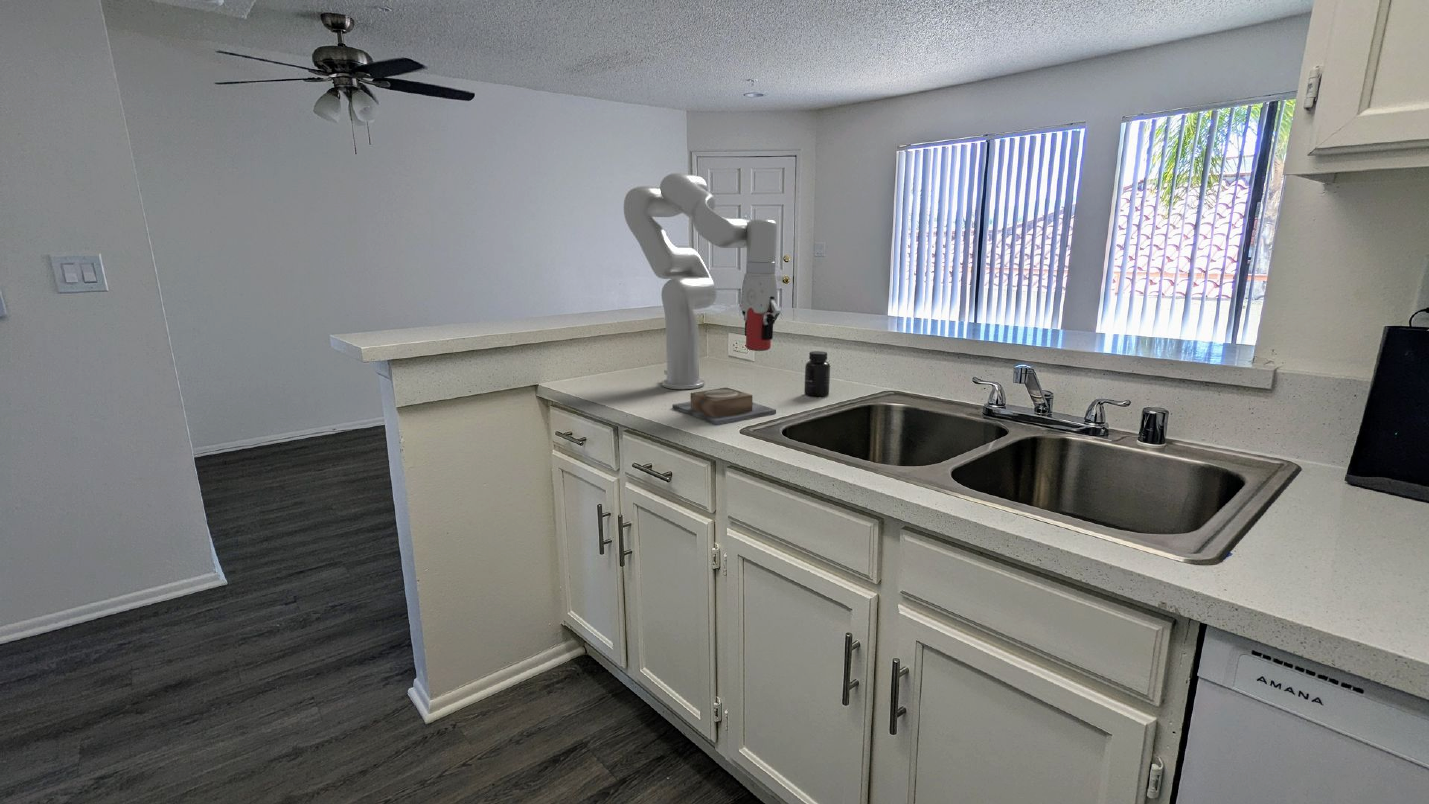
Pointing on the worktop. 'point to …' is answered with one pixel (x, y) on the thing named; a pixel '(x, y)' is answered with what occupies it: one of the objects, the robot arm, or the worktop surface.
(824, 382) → the supplement bottle
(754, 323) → the beer can
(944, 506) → the worktop surface
